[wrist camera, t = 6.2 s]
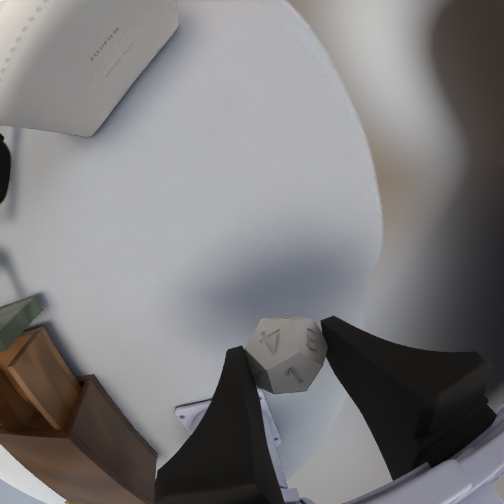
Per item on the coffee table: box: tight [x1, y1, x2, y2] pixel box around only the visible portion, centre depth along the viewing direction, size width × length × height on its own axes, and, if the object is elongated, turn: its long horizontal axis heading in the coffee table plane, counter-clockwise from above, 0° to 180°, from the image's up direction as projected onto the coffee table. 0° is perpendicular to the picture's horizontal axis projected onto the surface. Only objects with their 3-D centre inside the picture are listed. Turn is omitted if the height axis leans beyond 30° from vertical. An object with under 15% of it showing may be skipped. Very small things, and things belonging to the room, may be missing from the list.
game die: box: [244, 317, 328, 394], centre depth 11 cm, size 4×4×3 cm
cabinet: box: [0, 374, 157, 504], centre depth 18 cm, size 12×11×7 cm
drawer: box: [0, 296, 82, 432], centre depth 14 cm, size 16×10×6 cm, turn 15°
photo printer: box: [0, 0, 179, 137], centre depth 8 cm, size 10×4×12 cm, turn 143°
